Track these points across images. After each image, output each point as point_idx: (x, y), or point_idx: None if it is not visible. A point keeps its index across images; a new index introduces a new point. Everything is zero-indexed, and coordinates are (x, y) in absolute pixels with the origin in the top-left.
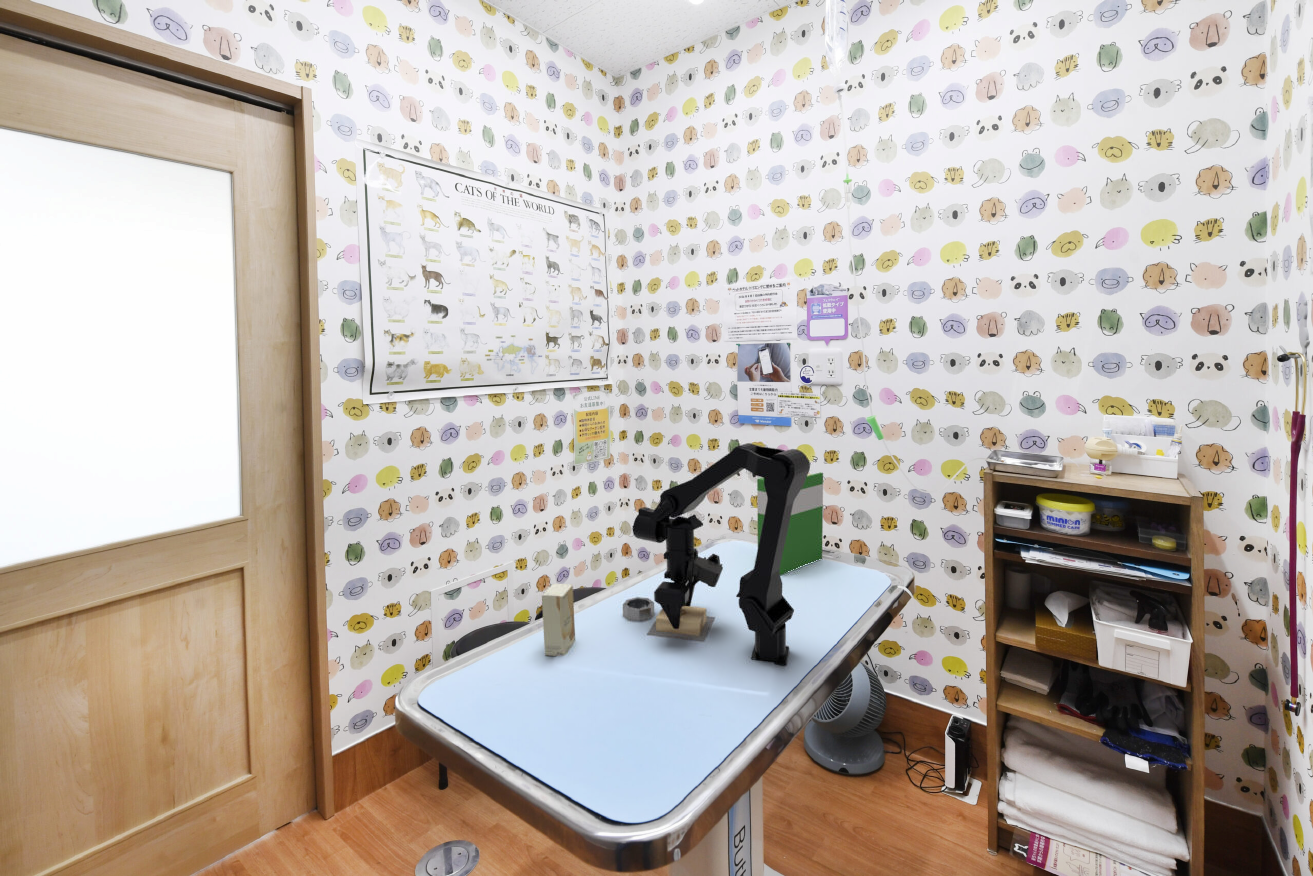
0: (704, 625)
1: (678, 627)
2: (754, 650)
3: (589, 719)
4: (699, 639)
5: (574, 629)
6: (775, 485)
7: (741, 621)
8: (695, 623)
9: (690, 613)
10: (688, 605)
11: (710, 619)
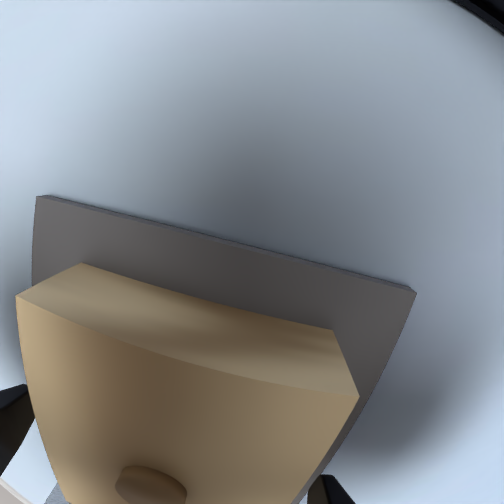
0: (155, 283)
1: (338, 483)
2: (494, 13)
3: None
4: (386, 326)
5: None
6: None
7: (83, 27)
8: (344, 416)
9: (145, 444)
10: (18, 408)
11: (63, 231)
